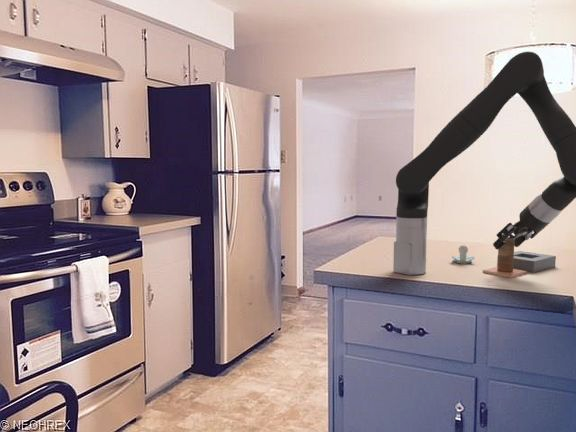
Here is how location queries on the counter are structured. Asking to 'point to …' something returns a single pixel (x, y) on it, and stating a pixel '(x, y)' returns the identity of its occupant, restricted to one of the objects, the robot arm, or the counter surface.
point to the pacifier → (463, 256)
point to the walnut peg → (506, 257)
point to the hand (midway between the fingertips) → (504, 245)
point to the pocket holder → (532, 261)
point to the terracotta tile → (505, 274)
